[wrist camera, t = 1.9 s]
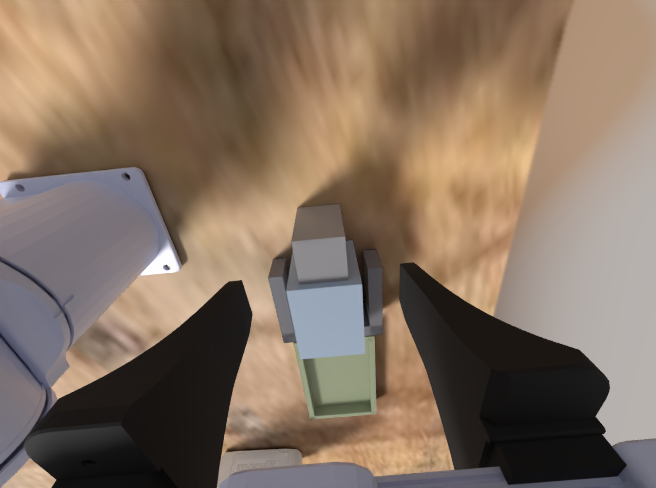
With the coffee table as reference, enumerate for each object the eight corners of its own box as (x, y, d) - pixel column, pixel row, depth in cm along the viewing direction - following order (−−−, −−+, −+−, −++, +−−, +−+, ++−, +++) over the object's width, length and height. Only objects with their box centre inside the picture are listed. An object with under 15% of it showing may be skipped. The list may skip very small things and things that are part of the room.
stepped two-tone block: (304, 305, 25) (300, 359, 20) (287, 209, 20) (276, 247, 15) (356, 301, 24) (365, 353, 20) (350, 202, 20) (359, 239, 15)
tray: (310, 405, 31) (310, 419, 30) (294, 330, 26) (293, 343, 25) (374, 400, 31) (376, 414, 30) (371, 323, 26) (374, 336, 24)
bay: (287, 320, 25) (284, 342, 23) (273, 259, 22) (268, 277, 20) (377, 312, 25) (382, 334, 23) (375, 249, 22) (382, 267, 20)
